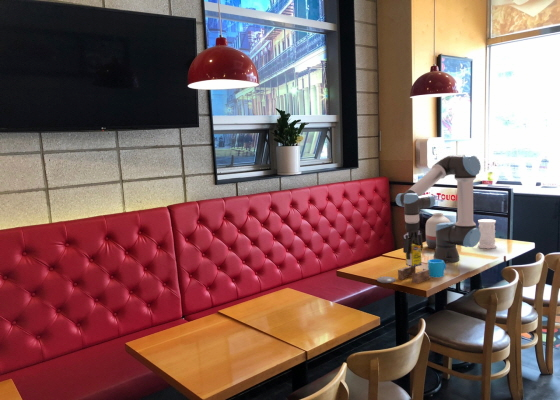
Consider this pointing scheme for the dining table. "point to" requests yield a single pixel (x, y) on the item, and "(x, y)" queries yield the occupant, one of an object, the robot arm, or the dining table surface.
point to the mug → (436, 267)
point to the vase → (434, 228)
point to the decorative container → (487, 233)
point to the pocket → (413, 274)
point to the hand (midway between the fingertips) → (413, 263)
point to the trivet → (386, 279)
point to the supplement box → (415, 255)
